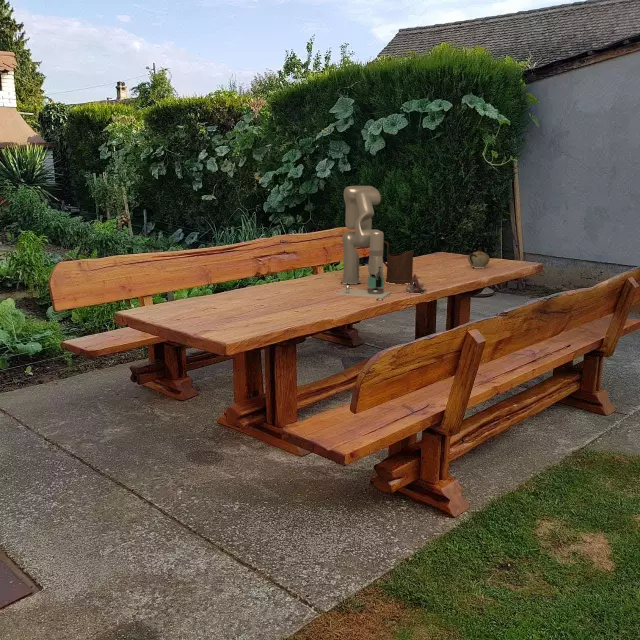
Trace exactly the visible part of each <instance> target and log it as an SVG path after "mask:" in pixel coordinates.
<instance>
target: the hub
mask: <svg viewBox="0 0 640 640" xmlns="http://www.w3.org/2000/svg"><path fill="white" fill-rule="evenodd" d="M366 290H367V293H369V294H383V293H384V291H385V290H384V288H371V287H369V288H367V289H366Z"/></svg>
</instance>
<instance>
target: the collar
mask: <svg viewBox="0 0 640 640" xmlns="http://www.w3.org/2000/svg"><path fill="white" fill-rule="evenodd" d="M384 278H385V277H383V276H382V282H381V287H376V280H377V279H376V276H370V275H369V276H368V278H367V287H369V288H382V289H384V287H385V286H384V284H385V281H384Z"/></svg>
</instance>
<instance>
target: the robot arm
mask: <svg viewBox="0 0 640 640" xmlns="http://www.w3.org/2000/svg"><path fill="white" fill-rule="evenodd" d="M381 198H382V197H381V193H380V191H379V190H378V189H377V188H376V187H374V186H372V185H350V186H346V187H345V188H344V189H343V199H344V203H345V222H344V223H345V227H346V229H348V230H354V231H346V232H344V233H343V234H342V238H341V241H342V248H343V249H342V250H343V280H341V281H340V283H341V282H342V283H349V284H355V283H361V284H362V281H361V280H360V279H359V278H360V254H359V251H358V249H356V248H367V247H369V258H368V263H367V265H368V268H367V272H368V274H369V277H370V276H376V279H377V280H376V287H381V282H382V277H383V276H384V263H383V259H384V242H383V241H384V236H385V235H384V234H385V233H384V232H383V231H382V230H379V229H374V228H373V229H372V227H373V225H372V224H373V223H372V222H373V221H372V218H373V216H375V211H374V207H373V206H374V205H379V204H380V203H381V200H382V199H381ZM342 283H341V284H342Z"/></svg>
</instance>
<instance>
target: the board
mask: <svg viewBox="0 0 640 640" xmlns="http://www.w3.org/2000/svg"><path fill="white" fill-rule="evenodd" d="M367 290H368V289H355V288H349V293H348V294H347V293H346V288H345V289H343V290H340V291H339V292H337V293H335V295H339V296H340V295H341V296H354V297H355V296H356V297H366V298H367V297H368V298H377V299H383V298H385V297H387V296H388V295H390V294H392V293H393V292H392V291H387V290H386V291H385V290H384V293H383V294H369V293H367ZM390 296H391V295H390ZM388 297H389V296H388ZM388 297H387V298H388ZM385 299H386V298H385ZM383 300H384V299H383Z"/></svg>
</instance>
